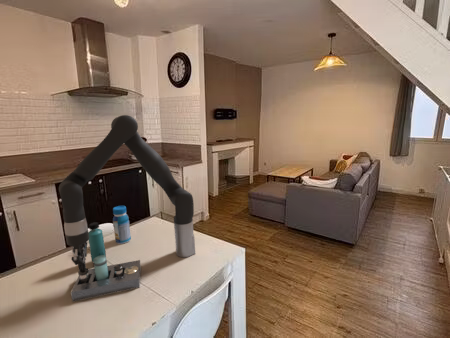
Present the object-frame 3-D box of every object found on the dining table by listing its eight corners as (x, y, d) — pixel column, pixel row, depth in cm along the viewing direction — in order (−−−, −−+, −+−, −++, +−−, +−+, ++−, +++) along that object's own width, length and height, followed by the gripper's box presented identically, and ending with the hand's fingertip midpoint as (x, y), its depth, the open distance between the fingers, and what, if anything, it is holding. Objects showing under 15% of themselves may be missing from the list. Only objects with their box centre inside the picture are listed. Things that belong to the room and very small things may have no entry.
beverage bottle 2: (127, 244, 132) (123, 210, 128) (112, 244, 132) (108, 210, 128) (133, 237, 140) (129, 204, 136) (119, 237, 140) (115, 205, 137)
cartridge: (110, 279, 102) (107, 254, 100) (108, 286, 98) (105, 260, 96) (98, 282, 101) (94, 256, 99) (96, 289, 97) (91, 262, 94)
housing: (140, 267, 110) (139, 259, 109) (139, 287, 97) (138, 278, 96) (82, 279, 103) (80, 270, 102) (72, 301, 90) (70, 291, 89)
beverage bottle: (100, 266, 112) (94, 226, 108) (88, 265, 113) (82, 226, 109) (109, 258, 118) (104, 221, 114) (98, 257, 120) (92, 220, 116)
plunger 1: (90, 277, 99) (89, 267, 98) (88, 283, 96) (87, 272, 95) (81, 279, 98) (79, 269, 97) (78, 285, 95) (76, 274, 94)
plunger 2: (124, 273, 103) (123, 263, 102) (123, 278, 100) (122, 268, 99) (115, 275, 102) (114, 265, 101) (114, 280, 99) (113, 270, 98)
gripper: (83, 236, 87) (89, 278, 91) (91, 222, 100) (96, 260, 103) (59, 239, 85) (66, 282, 89) (71, 225, 98) (77, 263, 101)
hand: (82, 270), depth 96 cm, fingers closed
